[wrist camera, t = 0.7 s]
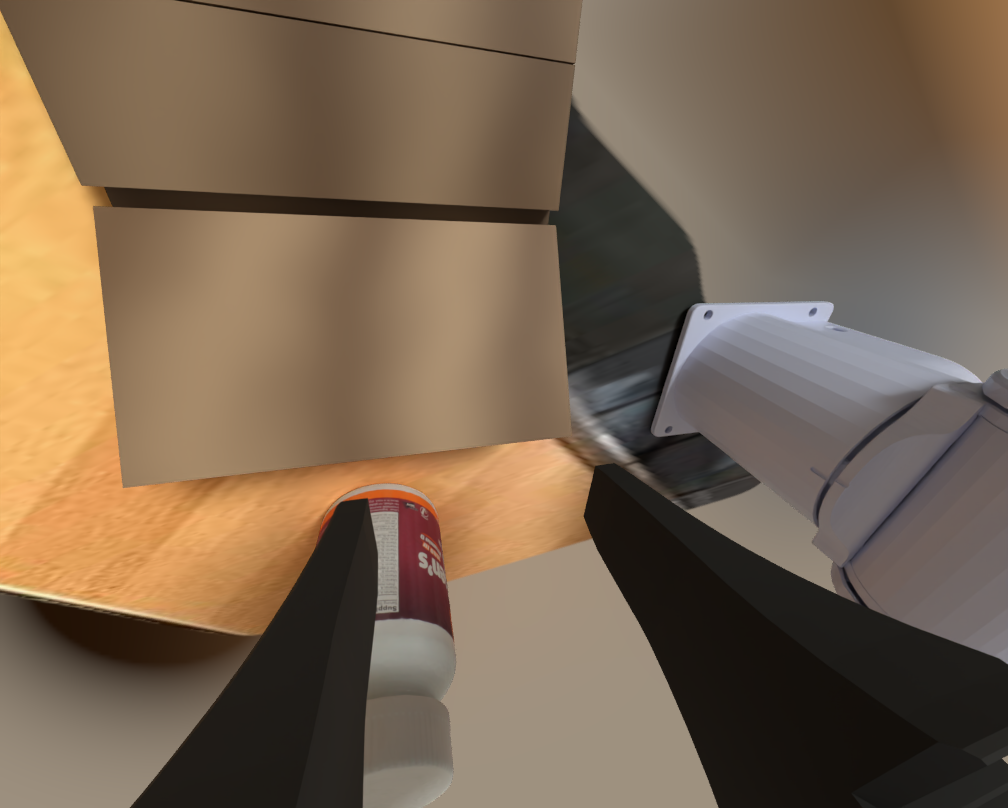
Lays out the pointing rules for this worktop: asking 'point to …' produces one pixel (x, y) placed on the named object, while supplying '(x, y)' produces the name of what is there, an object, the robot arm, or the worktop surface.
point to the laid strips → (310, 103)
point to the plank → (325, 339)
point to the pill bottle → (407, 653)
